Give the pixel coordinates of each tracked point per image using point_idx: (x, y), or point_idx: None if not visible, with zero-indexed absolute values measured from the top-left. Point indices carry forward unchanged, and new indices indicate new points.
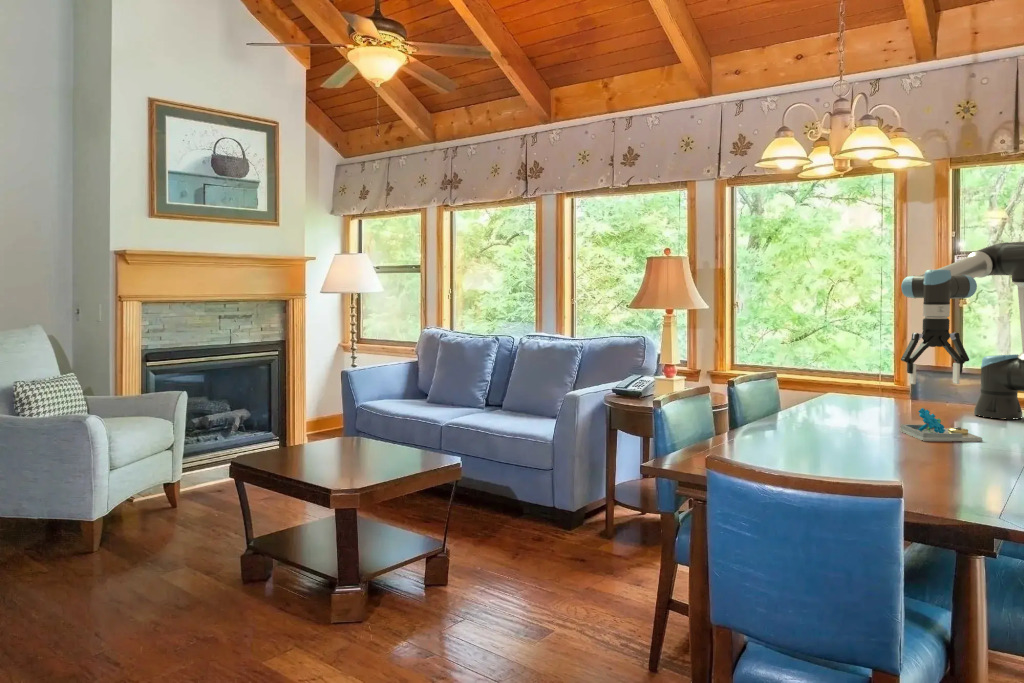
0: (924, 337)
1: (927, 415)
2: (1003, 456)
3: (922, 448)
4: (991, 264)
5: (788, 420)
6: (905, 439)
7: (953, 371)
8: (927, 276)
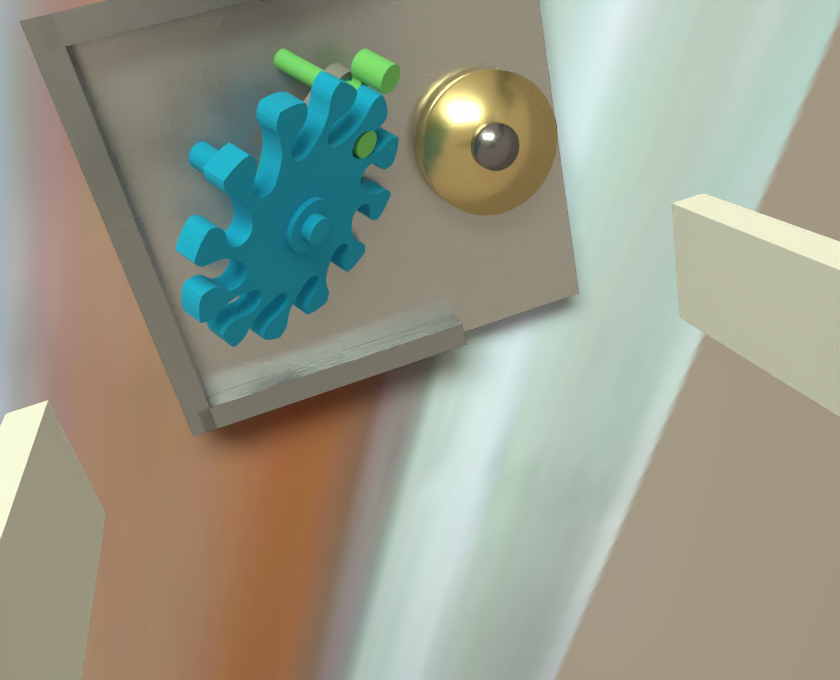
0: None
1: (264, 230)
2: (531, 633)
3: (164, 627)
4: None
5: None
6: (70, 385)
7: (799, 271)
8: None
